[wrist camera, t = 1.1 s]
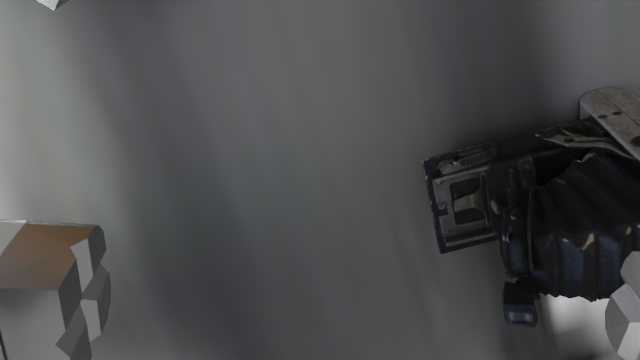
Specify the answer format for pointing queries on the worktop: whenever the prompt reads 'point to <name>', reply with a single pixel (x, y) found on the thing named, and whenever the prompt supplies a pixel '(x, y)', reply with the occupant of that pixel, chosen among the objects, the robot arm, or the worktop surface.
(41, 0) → the camera body
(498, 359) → the worktop surface
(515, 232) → the vintage camera
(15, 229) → the robot arm
